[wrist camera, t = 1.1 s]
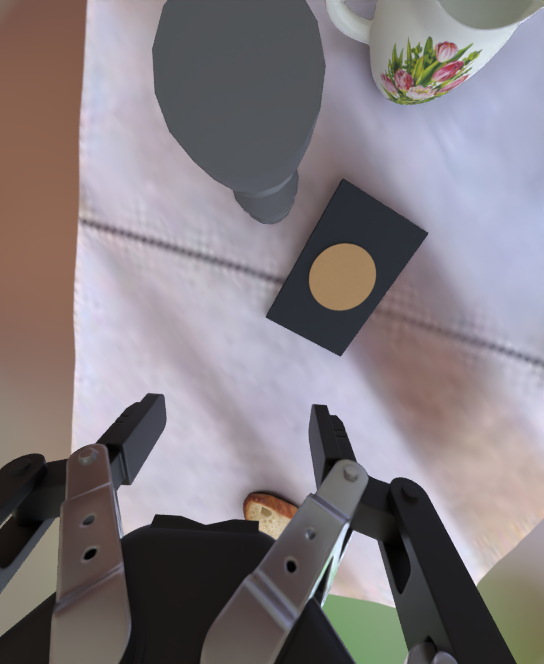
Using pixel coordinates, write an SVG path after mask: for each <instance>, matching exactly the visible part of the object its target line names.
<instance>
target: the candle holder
mask: <svg viewBox="0 0 544 664" xmlns="http://www.w3.org/2000/svg"><path fill="white" fill-rule="evenodd" d="M152 54H153V71H154V88H155V95H156V97H157V100H158V103H159V105H160V108H161V111H162V113H163V116H164V119H165V121H166V124H167V127H168V129H169V132H170V133H171V134H172V135H173V137H174V138H175V139H176V140H177V142H178V143H179V144H180V145H181V147H182V148H183V149H184V150H185V151H186V153H187V154H188V155H189V156H190V158H191V159H192V160H193V161H194V162H195V163H196V164H197V165H199V166H200V167H201V168H202V169H203V170H204V171H205V172H206V173H207V174H208V175H210V176H211V177H212V178H213V179H214V180H216V181H218V182H219V183H221V184H223V185H225V186H226V187H228V188H230V189H232V190H233V193H234V196H235V199H236V200H237V202H238V203H239V204H240V206H241V207H242V208H243V209H244V211H246V212H248V213H249V214H250V215H251V217H253V218H254V219H256V220H257V221H259V222H261V223H264V224H274V223H277V222H279V221H281V220H282V219H283V218H284V217H286V216H287V215H288V213H289V211H290V209H291V207H292V205H293V202H294V197H295V195H296V193H297V187H298V177H299V176H298V172H297V168H298V166H299V164H300V162H301V160H302V158H303V156H304V153H305V151H306V149H307V147H308V145H309V143H310V140H311V137H312V134H313V130H314V127H315V124H316V121H317V118H318V114H319V111H320V107H321V99H322V91H323V83H324V75H325V67H326V65H325V60H324V55H323V49H322V44H321V38H320V33H319V28H318V22H317V20H316V18H315V16H314V14H313V13H312V11H311V9H310V7H309V6H308V4H307V2H306V0H167V2H166V3H165V4H164V6H163V9H162V13H161V17H160V21H159V25H158V29H157V32H156V36H155V40H154V44H153V48H152Z"/></svg>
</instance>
